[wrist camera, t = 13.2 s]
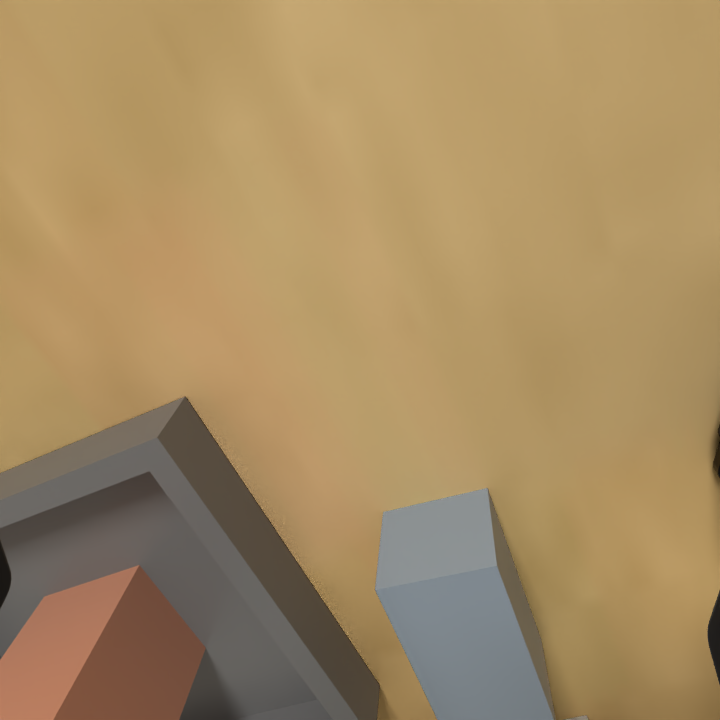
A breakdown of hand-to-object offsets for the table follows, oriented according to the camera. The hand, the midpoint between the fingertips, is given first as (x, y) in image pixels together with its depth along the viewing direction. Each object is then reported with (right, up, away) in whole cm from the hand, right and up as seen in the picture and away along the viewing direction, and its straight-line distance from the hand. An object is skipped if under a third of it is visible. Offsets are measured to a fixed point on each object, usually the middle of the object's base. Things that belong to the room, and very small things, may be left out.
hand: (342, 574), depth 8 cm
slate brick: (+4, -6, +17) cm, 19 cm away
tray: (-10, -8, +20) cm, 23 cm away
